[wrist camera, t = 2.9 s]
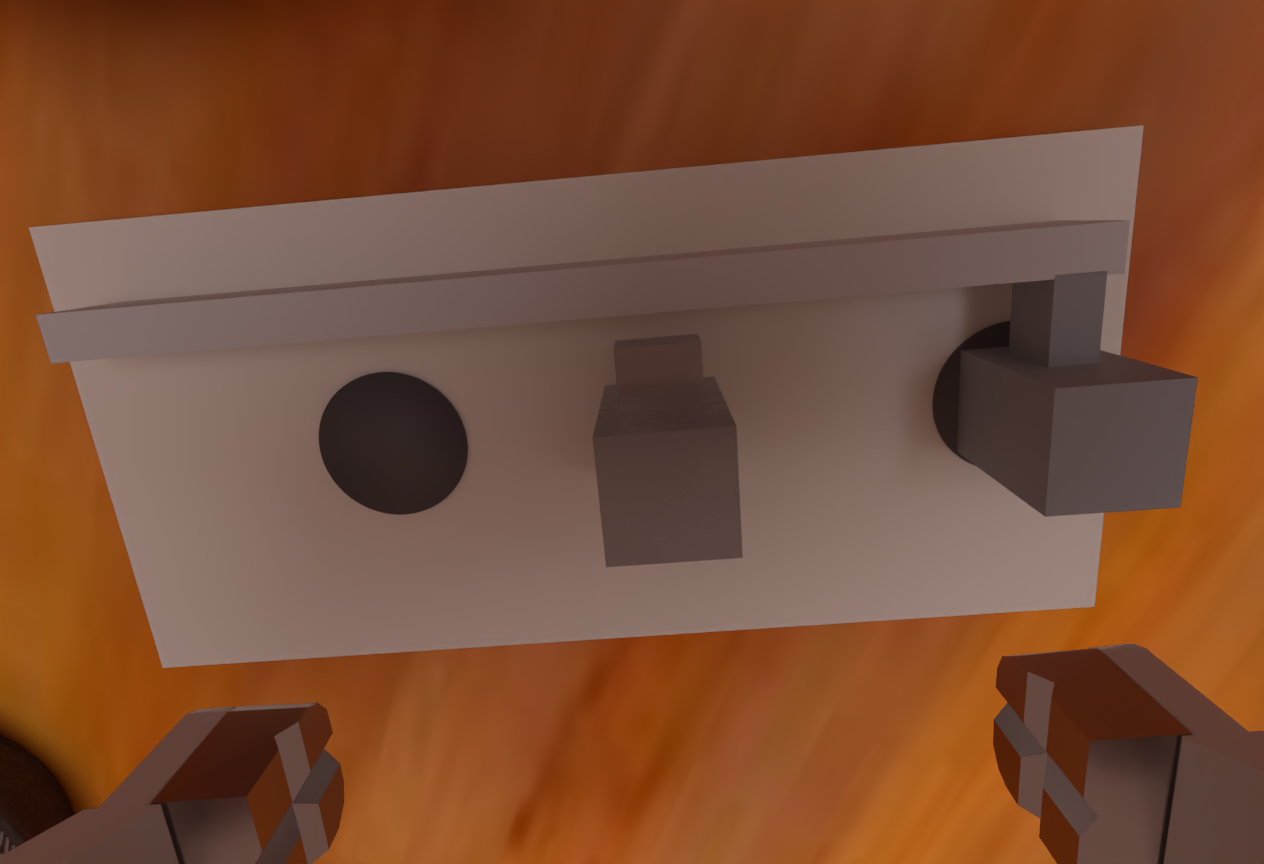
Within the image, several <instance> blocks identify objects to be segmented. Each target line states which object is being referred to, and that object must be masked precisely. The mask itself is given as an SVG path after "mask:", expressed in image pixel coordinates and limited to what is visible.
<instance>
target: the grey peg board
mask: <svg viewBox="0 0 1264 864" xmlns="http://www.w3.org/2000/svg"><path fill="white" fill-rule="evenodd" d="M1143 127H1144V125H1142V126H1131V127H1120V128H1109V129H1098V130H1087V131H1076V132H1065V133H1054V134H1044V135H1033V136H1022V137H1011V138H1000V139H989V140H978V141H967V142H956V143H945V144H934V145H923V146H913V147H902V148H891V149H880V150H869V151H858V152H847V153H836V154H825V155H814V156H803V157H792V158H782V159H771V160H760V161H749V162H738V163H727V164H716V165H705V166H694V167H683V168H672V169H662V170H651V171H640V172H629V173H618V174H607V175H596V176H585V177H574V178H563V179H552V180H541V181H531V182H520V183H509V184H498V185H487V186H476V187H465V188H454V189H443V190H432V191H421V192H411V193H400V194H389V195H378V196H367V197H356V198H345V199H334V200H323V201H312V202H301V203H290V204H280V205H269V206H258V207H247V208H236V209H225V210H214V211H203V212H192V213H181V214H170V215H159V216H149V217H138V218H127V219H116V220H105V221H94V222H83V223H72V224H61V225H50V226H39V227H29V230H30V233H31V237H32V240H33V243H34V246H35V250H36V253H37V256H38V260H39V263H40V266H41V269H42V273H43V276H44V279H45V283H46V286H47V289H48V292H49V296H50V299H51V302H52V306H53V309H54V312H51V313H45V314H38V315H36V317H37V320H38V324H39V327H40V330H41V333H42V336H43V340H44V343H45V346H46V349H47V352H48V356H49V359H50V362H51V363H61V362H70V365H71V368H72V371H73V375H74V378H75V381H76V384H77V388H78V391H79V394H80V398H81V401H82V404H83V407H84V411H85V414H86V417H87V421H88V424H89V427H90V430H91V434H92V437H93V440H94V444H95V447H96V450H97V453H98V457H99V460H100V463H101V467H102V470H103V473H104V476H105V480H106V483H107V486H108V490H109V493H110V496H111V500H112V503H113V506H114V509H115V513H116V516H117V519H118V523H119V526H120V529H121V532H122V536H123V539H124V542H125V546H126V549H127V552H128V555H129V559H130V562H131V565H132V569H133V572H134V575H135V578H136V582H137V585H138V588H139V592H140V595H141V598H142V601H143V605H144V608H145V611H146V615H147V618H148V621H149V624H150V628H151V631H152V634H153V638H154V641H155V644H156V647H157V651H158V654H159V657H160V661H161V664H162V667H163V668H169V667H184V666H199V665H215V664H230V663H245V662H260V661H276V660H291V659H306V658H321V657H336V656H352V655H367V654H382V653H397V652H412V651H428V650H443V649H458V648H473V647H488V646H504V645H519V644H534V643H549V642H565V641H580V640H595V639H610V638H625V637H641V636H656V635H671V634H686V633H701V632H717V631H732V630H747V629H762V628H777V627H793V626H808V625H823V624H838V623H853V622H869V621H884V620H899V619H914V618H930V617H945V616H960V615H975V614H990V613H1006V612H1021V611H1036V610H1051V609H1066V608H1082V607H1094V606H1095V596H1096V586H1097V576H1098V566H1099V557H1100V547H1101V537H1102V527H1103V518H1104V513H1106V512H1120V511H1134V510H1148V509H1163V508H1177V507H1180V506H1181V498H1182V491H1183V483H1184V476H1185V468H1186V461H1187V453H1188V446H1189V438H1190V431H1191V423H1192V416H1193V408H1194V401H1195V393H1196V386H1197V378H1198V377H1194V376H1191V375H1187V374H1184V373H1180V372H1176V371H1173V370H1169V369H1166V368H1162V367H1159V366H1155V365H1152V364H1148V363H1145V362H1141V361H1138V360H1134V359H1130V358H1127V357H1123V356H1120V352H1121V342H1122V332H1123V322H1124V312H1125V303H1126V293H1127V283H1128V273H1129V264H1130V254H1131V244H1132V234H1133V225H1134V215H1135V205H1136V195H1137V185H1138V176H1139V166H1140V156H1141V146H1142V137H1143ZM688 334H698V336H699V338H700V340H701V346H702V363H703V377H715V379H716V381H717V384H718V386H719V388H720V390H721V393H722V395H723V397H724V399H725V401H726V404H727V406H728V408H729V410H730V413H731V415H732V417H733V419H734V422H735V424H736V427H737V448H738V469H739V490H740V511H741V533H742V554H743V558H733V559H719V560H705V561H690V562H676V563H662V564H647V565H633V566H619V567H606V562H605V553H604V543H603V533H602V524H601V514H600V505H599V495H598V486H597V476H596V467H595V457H594V448H593V438H592V437H593V433H594V429H595V424H596V420H597V416H598V412H599V408H600V404H601V400H602V396H603V392H604V388H605V385H614V384H617V382H616V371H615V360H614V345H615V340H627V339H639V338H651V337H663V336H676V335H688Z"/></svg>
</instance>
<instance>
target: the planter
mask: <svg viewBox="0 0 1264 864" xmlns="http://www.w3.org/2000/svg"><path fill="white" fill-rule="evenodd" d="M71 816H73V813H72V809H71V806H70V804H69V801H68V799H67V797H66V795H65V793H64V791H63V790H62V788H61V786H60V785H59V784H58V782H57V781H56V779H55V778H54V777H53V776H52V774H51V773H50V772H49V771H48V770H47V769H46V768H45V767H44V766H43V765H42V764H41V763H40V762H39V761H38V760H37V759H35V758H34V757H33V756H32V755H31V754H29V753H28V752H27V751H25V750H24V749H22V748H21V747H19V746H18V745H16V744H14V743H13V742H11V741H9V740H7V739H5V738H3V737H1V736H0V856H2V855H3V854H5V853H7V852H9V851H10V850H12V849H14V848H16V847H18V846H19V845H21V844H23V843H25V842H27V841H28V840H30V839H32V838H34V837H36V836H37V835H39V834H41V833H43V832H45V831H46V830H48V829H50V828H52V827H53V826H55V825H57V824H59V823H61V822H62V821H64V820H66V819H68V818H70V817H71Z"/></svg>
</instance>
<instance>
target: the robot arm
mask: <svg viewBox="0 0 1264 864" xmlns="http://www.w3.org/2000/svg"><path fill="white" fill-rule="evenodd" d="M996 688H997V689H998V691H999V692H1000V693H1001V694H1002V696H1003V697H1004V698H1005V700H1006V701H1007V702H1008V703H1007V704H1006V705H1005V707H1004V708H1003V709H1002V710H1001V711H1000V713H999V714H998V715H997V716H996V718H995V719H994V734H993V745H994V750H995V755H996V759H997V764H998V768H999V771H1000V773H1001V776H1002V778H1003V780H1004V783H1005V785H1006V787H1007V789H1008V790H1009V792H1010V793H1011V795H1012V797H1013V798H1014V800H1015V801H1016V803H1017V804H1018V805H1019V806H1021V807H1022V808H1024V809H1025V810H1027V811H1029V812H1030V813H1032V814H1034V815H1035V816H1037V817H1039V818H1040V819H1041V820H1040V834H1039V837H1040V839H1041V840H1042V842H1043V843H1044V845H1045V846H1046V848H1047V849H1048V851H1049V852H1050V854H1051V855H1052V857H1053V858H1054V860H1055V861H1056V862H1057V864H1264V731H1254V732H1248V731H1247V730H1246V729H1245V728H1243V727H1242V726H1241V725H1240V724H1239V723H1237V722H1236V721H1235V720H1234V719H1232V718H1231V717H1230V716H1229V715H1227V714H1226V713H1225V712H1224V711H1223V710H1221V709H1220V708H1219V707H1218V706H1216V705H1215V704H1214V703H1213V702H1211V701H1210V700H1209V699H1208V698H1206V697H1205V696H1204V695H1203V694H1202V693H1200V692H1199V691H1198V690H1197V689H1195V688H1194V687H1193V686H1192V685H1190V684H1189V683H1188V682H1187V681H1186V680H1184V679H1183V678H1182V677H1181V676H1179V675H1178V674H1177V673H1176V672H1174V671H1173V670H1172V669H1171V668H1170V667H1168V666H1167V665H1166V664H1165V663H1163V662H1162V661H1161V660H1160V659H1158V658H1157V657H1156V656H1155V655H1153V654H1152V653H1151V652H1150V651H1149V650H1147V649H1146V648H1144V647H1141V646H1138V645H1135V644H1123V645H1114V646H1104V647H1094V648H1088V649H1082V650H1071V651H1059V652H1047V653H1036V654H1024V655H1012V656H1002V658H1001V660H1000V663H999V665H998V668H997V678H996ZM332 733H333V731H332V727H331V723H330V720H329V716H328V712H327V709H326V708H324V707H323V706H321V705H320V704H319V703H303V704H282V705H261V706H240V707H237V708H236V707H222V708H209V709H199V710H196V711H193V712H190V713H187V714H186V715H185V716H184V717H183V718H182V719H181V720H180V721H179V722H178V724H177V725H176V726H175V727H174V728H173V729H172V730H171V731H170V732H169V733H168V734H167V735H166V736H165V737H164V739H163V740H162V741H161V742H160V743H159V744H158V745H157V746H156V747H155V748H154V749H153V750H152V751H151V752H150V754H149V755H148V756H147V757H146V758H145V759H144V760H143V761H142V762H141V763H140V764H139V765H138V766H137V767H136V768H135V770H134V771H133V772H132V773H131V774H130V775H129V776H128V777H127V778H126V779H125V780H124V781H123V782H122V783H121V785H120V786H119V787H118V788H117V789H116V790H115V791H114V792H113V793H112V794H111V795H110V796H109V797H108V798H107V800H106V801H105V802H104V803H103V804H102V805H101V806H100V807H99V808H94V809H84V810H82V811H80V812H79V813H77V814H75V815H73V816H71V817H70V818H68V819H66V820H64V821H62V822H61V823H59V824H57V825H55V826H53V827H52V828H50V829H48V830H46V831H45V832H43V833H41V834H39V835H37V836H36V837H34V838H32V839H30V840H28V841H27V842H25V843H23V844H21V845H19V846H18V847H16V848H14V849H12V850H10V851H9V852H7V853H5V854H3V855H2V856H0V864H311V863H313V862H314V861H315V860H316V859H318V858H319V857H320V856H321V855H323V854H324V853H325V852H326V851H328V850H329V848H330V846H331V844H332V842H333V839H334V837H335V835H336V833H337V831H338V829H339V825H340V820H341V815H342V810H343V805H344V780H343V775H342V771H341V766H340V763H339V762H338V761H337V760H335V759H334V758H333V757H332V756H331V755H330V754H329V753H328V752H327V751H326V750H325V749H324V748H325V746H326V744H327V742H328V741H329V739H330V737H331V735H332Z"/></svg>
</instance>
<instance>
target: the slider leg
mask: <svg viewBox="0 0 1264 864" xmlns="http://www.w3.org/2000/svg"><path fill="white" fill-rule="evenodd" d="M614 360H615V371H616V382H617V384H614V385H605V388H604V392H603V396H602V400H601V404H600V408H599V412H598V416H597V420H596V424H595V429H594V433H593V437H592V438H593V448H594V457H595V467H596V476H597V486H598V495H599V505H600V514H601V524H602V533H603V543H604V553H605V562H606V567H619V566H633V565H647V564H662V563H676V562H690V561H705V560H719V559H733V558H743V554H742V533H741V511H740V490H739V469H738V448H737V427H736V424H735V422H734V419H733V417H732V415H731V413H730V410H729V408H728V406H727V404H726V401H725V399H724V397H723V395H722V393H721V390H720V388H719V386H718V384H717V381H716V379H715V377H703V363H702V346H701V340H700V338H699V336H698V334H688V335H676V336H663V337H651V338H639V339H627V340H615V345H614Z"/></svg>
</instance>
